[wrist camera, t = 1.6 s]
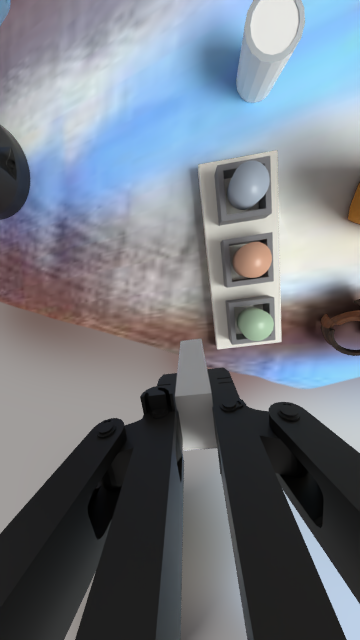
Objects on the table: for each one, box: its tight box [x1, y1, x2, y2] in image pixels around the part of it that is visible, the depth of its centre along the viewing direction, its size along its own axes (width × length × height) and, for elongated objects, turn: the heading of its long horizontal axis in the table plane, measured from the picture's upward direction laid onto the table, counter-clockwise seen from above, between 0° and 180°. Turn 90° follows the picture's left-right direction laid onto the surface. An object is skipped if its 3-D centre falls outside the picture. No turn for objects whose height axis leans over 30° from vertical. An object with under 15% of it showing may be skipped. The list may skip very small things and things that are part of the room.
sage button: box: [237, 307, 274, 341], centre depth 33 cm, size 5×5×3 cm
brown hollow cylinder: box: [321, 299, 360, 356], centre depth 35 cm, size 12×10×8 cm
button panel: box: [198, 150, 281, 349], centre depth 34 cm, size 31×12×5 cm, turn 8°
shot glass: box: [236, 0, 305, 103], centre depth 26 cm, size 7×7×7 cm
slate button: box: [227, 161, 270, 210], centre depth 28 cm, size 5×5×3 cm
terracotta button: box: [232, 242, 272, 278], centre depth 30 cm, size 5×5×3 cm
